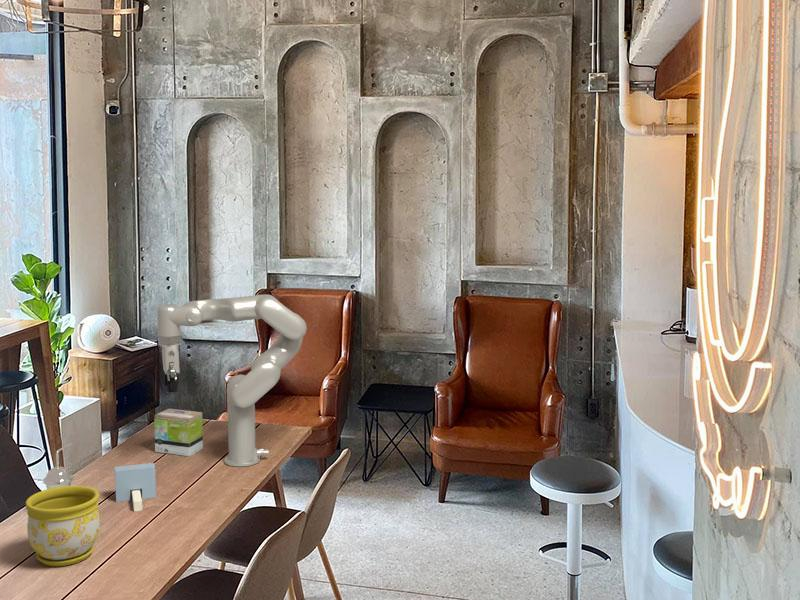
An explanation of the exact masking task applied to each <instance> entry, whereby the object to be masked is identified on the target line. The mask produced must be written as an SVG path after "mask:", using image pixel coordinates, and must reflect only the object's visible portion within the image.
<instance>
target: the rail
mask: <svg viewBox="0 0 800 600" xmlns="http://www.w3.org/2000/svg"><path fill="white" fill-rule="evenodd" d="M130 496H131V502H132V506H133V507H132V508H133V512H141V511H143V499H142V494H141V489H134V490H130Z"/></svg>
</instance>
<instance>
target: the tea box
mask: <svg viewBox="0 0 800 600" xmlns="http://www.w3.org/2000/svg"><path fill="white" fill-rule="evenodd" d="M153 419H154V420H153V421H154V422H153V423H154V424H153V425H154V428H153V429H154V452H155V453H163V454H170V455H176V456H184V457H189V458H190V457H192V456H193V455H195V454H196V452H197V453H199V452H200V451H202V450H203V448H204V441H203V440H204V437H203V436H204V434H203V432H204V430H203V427H204V425H203V424H204V423H203V412H202V411H194V410H185V409H175V408H166V409H164V410H162V411H160V412H158V413H156V414H154V415H153ZM201 449H202V450H201Z"/></svg>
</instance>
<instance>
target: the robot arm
mask: <svg viewBox="0 0 800 600" xmlns="http://www.w3.org/2000/svg"><path fill="white" fill-rule="evenodd" d="M156 311H157V313H156V314H157V341H158V343H157V345H158V346H160V347H161V358H162V366H163V367H162V368H163V371H164V386H165V387H166V388H167V393H177V392H178V380H177V375H178V374H180V372H181V371H180V353H179V346H180V345H182V340H181V338H182V337H181V336H182V335H181V334H182V333H181V327H196V326H198V325H200V324H201V323H202V322H203V321H215V320H216V321H217V320H218V321H219V320H220V321H226V322H232V323H233V322H234V323H235V322H236V323H237V322H244V321H252V320H260V319H262V320H263V321H264V322H265V323H266V324H267V325H269V326H270V327H272V328H273V329H274V330H276V331H277V332H279V333H280V334H279V336H278V338H277V339H276V341H275V342H274V343H273V344H272V345H271V346H270V347H269V348H268V349H266V350H265V351H264V352H263V353H261V354H260V355H259V356H258V357H256V359H254V360H253V362H252V364H251V367H250V371H249V372H248V373H247V374H236V375H234V376H233V377H231V378H230V380H229V381H228V383H227V386H226V401H227V430H228V433H227V435H228V440H227V442H228V455H226V456H225V457H224V459H223V462H224V464H225V465H228V466H230V467H238V468H239V467H249V466H253V465H256V464H258V463H259V462H260V460H261V459H260V458H261V456H268V455H269V453H270V452H269V449H265V448H257V447H256V407H255V404H256V403H257V402H258V401H259V400H261V398H262V397H264V395H266V394H267V393H268V392H269V391H270V390H271V389H272V388H274V387H275V386H276V384H278V382H279V380H280V378H281V374H282V373H281V370H282V369H283V368H284V367H285V366H286V365H287V364H288V363H289V362H290V361H291V360H293V359H294V357H295V356H296V355H297V354H298V352H299V351H300V350H301V346H302V343H303V339H304V337H305V335H306V334H307V329H308V328H307V323H306V320H304V319H303V317H301V316H300V315H299V314H297V313H295V312H293V311H292V310H290V308H288V307H287V306H285V305H284V304H283V303H281V301H279V300H278V299H277V298H276V297H275V296H273V295H272V294H257V295H256V294H255V295H246V296H238V297H224V298H209V299H201V300H200V299H199V300H193V301H192V300H191V301H186V302H185V303H184V304H183V305H182V306H178V305H177V304H162V305H159V306H157V309H156Z"/></svg>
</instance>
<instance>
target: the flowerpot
mask: <svg viewBox="0 0 800 600" xmlns="http://www.w3.org/2000/svg"><path fill="white" fill-rule="evenodd" d="M99 498H100V492H99V490H97V489H96V488H93V487H91V486H86V485H70V486H62V487H55V488H51V489H47V488H46V489H44V490H42V491H39V492H36V493H34V494H32V495H29V497H28V498H27V499H26V501H25V507H26V509H27V516H28V517H27V528H26V529H27V537H28V538H27V539H28V540H29V544H30V546H31V547H32V549H33V551H35V553H36V555H35V558H36V559H37V560H38V561H39V562H40V563H42V564H43V565H45V566H49V567H65V566H67V567H68V566H70V565H71V564H72V565H75V564H77V563H80V561H81V562H83V561H85V560H86V559H88V558H89V557H90V556H91V554H92V553H93V552H94V550H95V546H94V544H95V542H96V541H97V538H98V537H99V534H100V529H101V528H100V527H101V520H100V519H101V518H100V511H99V507H98V506H99ZM82 560H83V561H82Z"/></svg>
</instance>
